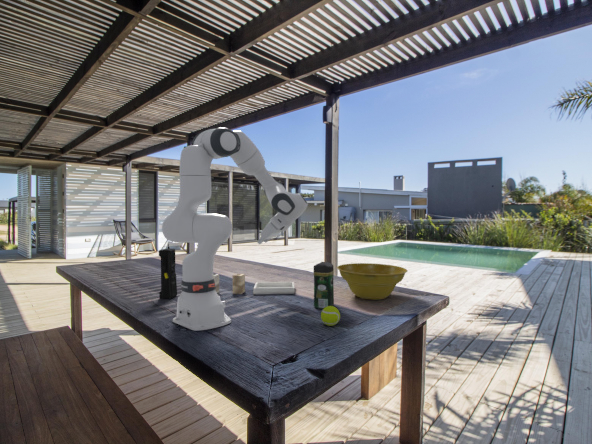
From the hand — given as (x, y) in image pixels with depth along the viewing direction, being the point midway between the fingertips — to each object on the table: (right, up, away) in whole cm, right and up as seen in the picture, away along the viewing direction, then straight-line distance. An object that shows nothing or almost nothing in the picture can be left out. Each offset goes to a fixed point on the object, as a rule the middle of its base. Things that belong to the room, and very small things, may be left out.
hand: (261, 242), depth 153 cm
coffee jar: (+28, -26, -21) cm, 44 cm away
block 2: (-12, -25, +3) cm, 28 cm away
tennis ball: (+29, -26, -44) cm, 59 cm away
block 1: (-25, -25, +3) cm, 35 cm away
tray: (+6, -25, +7) cm, 27 cm away
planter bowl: (+52, -25, -5) cm, 58 cm away
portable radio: (-43, -26, -6) cm, 51 cm away
